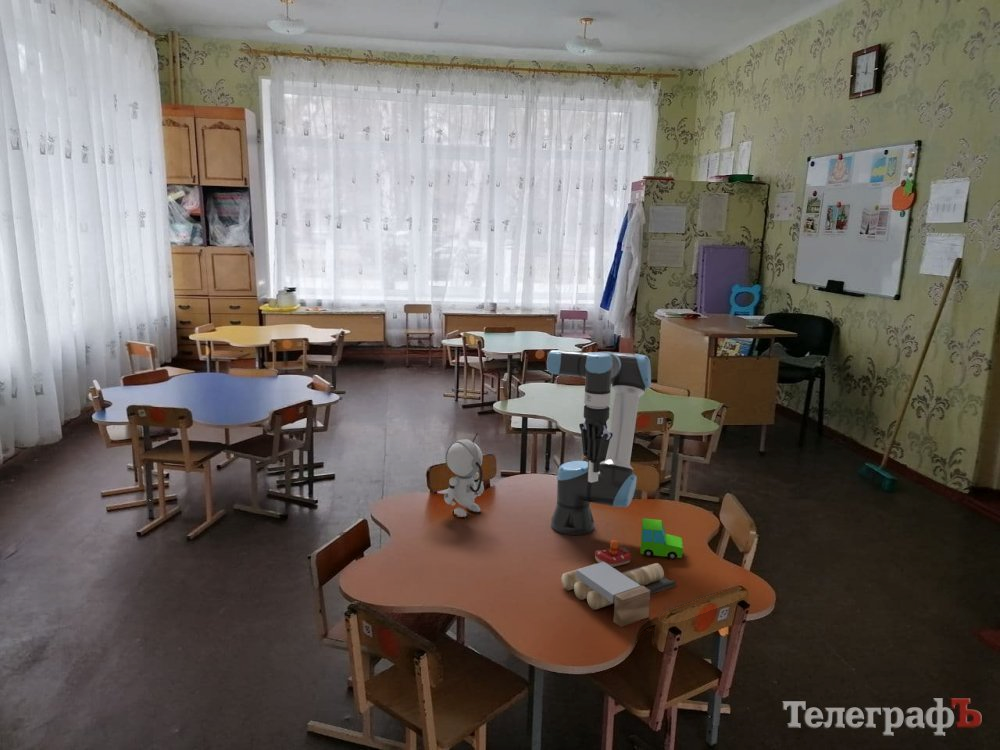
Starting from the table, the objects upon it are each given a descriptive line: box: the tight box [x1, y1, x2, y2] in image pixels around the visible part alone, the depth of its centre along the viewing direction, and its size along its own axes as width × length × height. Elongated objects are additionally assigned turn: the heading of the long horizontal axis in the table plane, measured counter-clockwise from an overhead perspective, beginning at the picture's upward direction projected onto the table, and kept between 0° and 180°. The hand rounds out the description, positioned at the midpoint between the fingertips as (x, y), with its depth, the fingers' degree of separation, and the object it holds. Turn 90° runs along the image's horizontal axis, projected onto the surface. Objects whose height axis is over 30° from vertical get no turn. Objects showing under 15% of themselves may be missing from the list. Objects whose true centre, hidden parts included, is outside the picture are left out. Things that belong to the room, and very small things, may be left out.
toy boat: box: [594, 539, 632, 568], centre depth 224 cm, size 8×12×8 cm, turn 116°
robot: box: [443, 432, 484, 517], centre depth 258 cm, size 14×13×29 cm
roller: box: [624, 562, 665, 586], centre depth 211 cm, size 12×5×5 cm, turn 121°
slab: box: [576, 562, 641, 604], centre depth 201 cm, size 16×10×2 cm, turn 32°
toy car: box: [640, 518, 684, 561], centre depth 231 cm, size 10×13×10 cm
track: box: [561, 563, 677, 628], centre depth 206 cm, size 26×30×8 cm
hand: (592, 481), depth 213 cm, fingers closed
